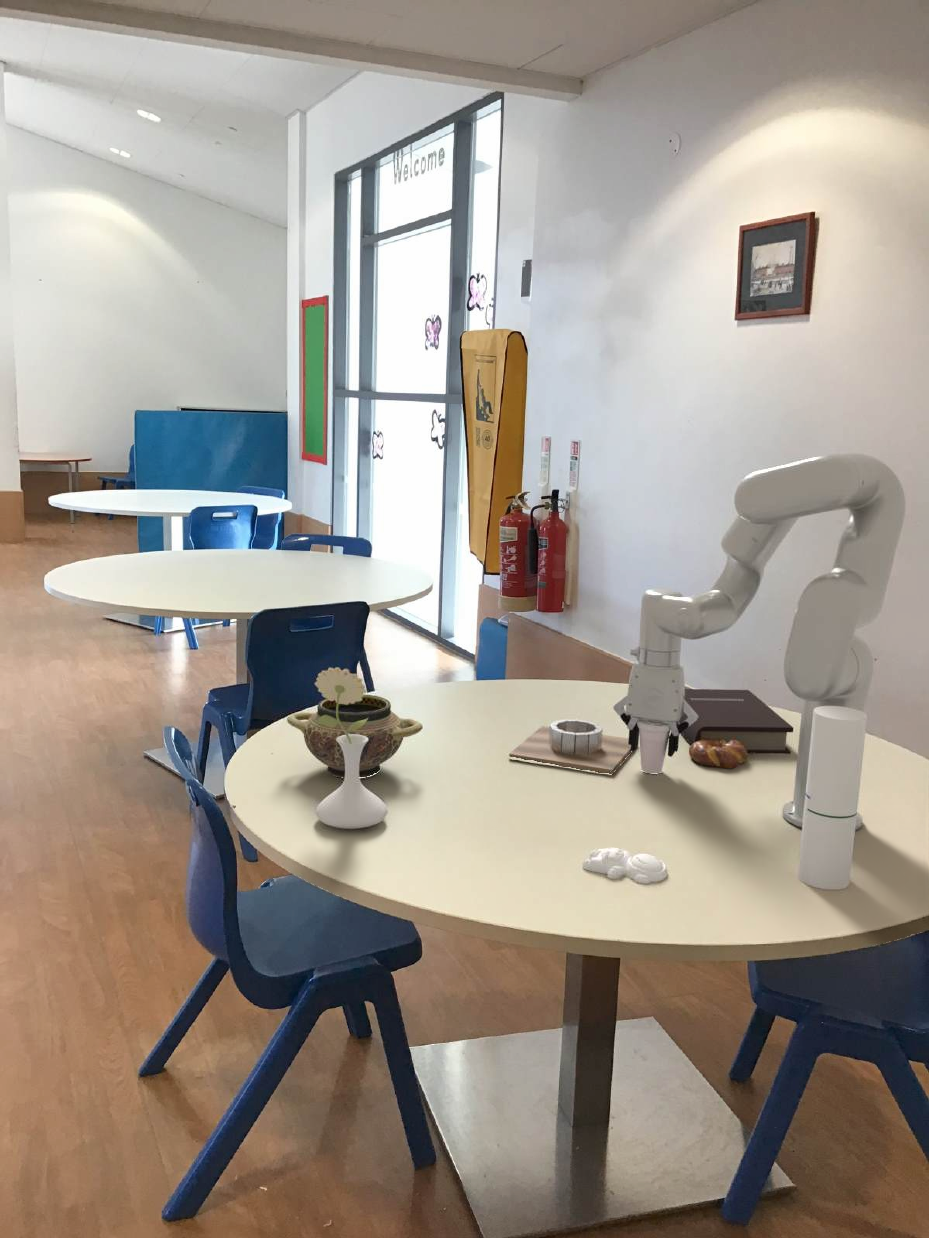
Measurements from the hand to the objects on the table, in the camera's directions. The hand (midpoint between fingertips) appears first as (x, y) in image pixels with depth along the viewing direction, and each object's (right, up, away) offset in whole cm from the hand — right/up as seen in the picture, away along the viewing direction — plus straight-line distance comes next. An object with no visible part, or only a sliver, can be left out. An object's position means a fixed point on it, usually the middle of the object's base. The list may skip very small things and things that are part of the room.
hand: (652, 750), depth 199 cm
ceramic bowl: (-55, -3, -4) cm, 55 cm away
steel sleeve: (-13, 0, +10) cm, 17 cm away
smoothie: (0, -4, +1) cm, 4 cm away
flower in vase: (-54, -8, -27) cm, 60 cm away
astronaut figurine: (-11, -13, -41) cm, 45 cm away
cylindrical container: (+17, -13, -43) cm, 48 cm away
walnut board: (-13, -2, +10) cm, 17 cm away
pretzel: (+14, -3, +9) cm, 17 cm away
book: (+19, 0, +27) cm, 33 cm away
